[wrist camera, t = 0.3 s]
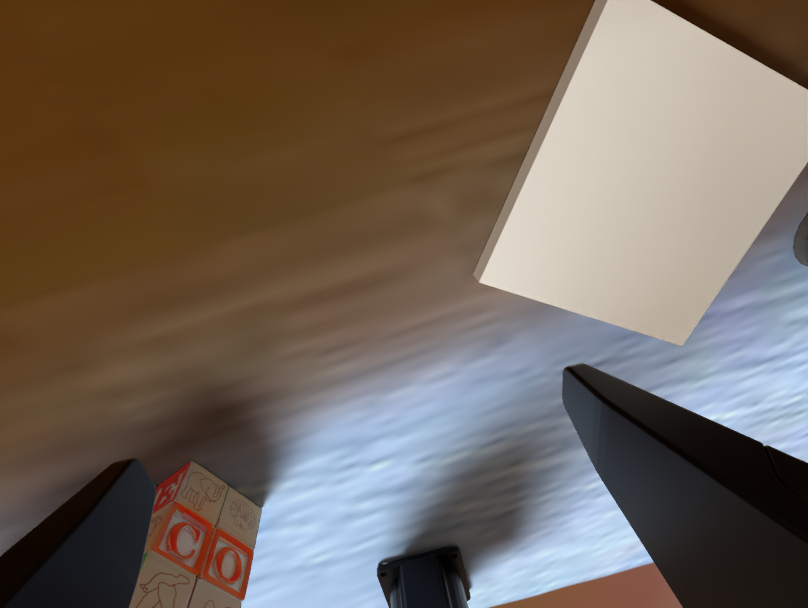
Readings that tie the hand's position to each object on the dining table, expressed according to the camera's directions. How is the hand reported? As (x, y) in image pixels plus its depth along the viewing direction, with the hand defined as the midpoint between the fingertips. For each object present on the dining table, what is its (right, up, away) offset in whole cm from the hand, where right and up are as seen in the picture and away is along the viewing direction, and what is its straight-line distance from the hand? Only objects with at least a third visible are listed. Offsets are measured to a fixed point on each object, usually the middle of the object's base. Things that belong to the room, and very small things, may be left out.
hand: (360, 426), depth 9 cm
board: (+14, +8, +14) cm, 21 cm away
